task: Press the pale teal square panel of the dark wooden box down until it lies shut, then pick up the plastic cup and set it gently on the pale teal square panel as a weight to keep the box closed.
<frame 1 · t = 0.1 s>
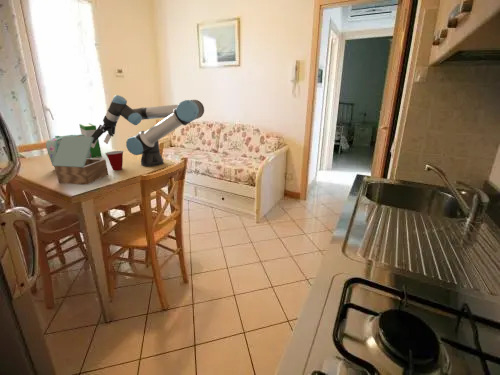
hand: (98, 144, 172), 15 cm above the table, tool tilted 35°, fingers open, 13 cm apart
wooden box: (84, 178, 154), on the table
pale teal square panel: (73, 151, 144), point 17 cm above the table, hinge at 50.0°
hardback book: (93, 155, 208), on the table
lunch box: (73, 165, 181), on the table
plastic cup: (117, 169, 172), on the table
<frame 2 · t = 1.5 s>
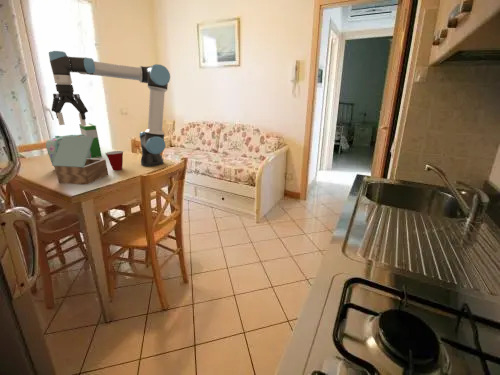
hand: (72, 125, 143), 31 cm above the table, tool pointing down, fingers open, 13 cm apart
nothing on the table moved.
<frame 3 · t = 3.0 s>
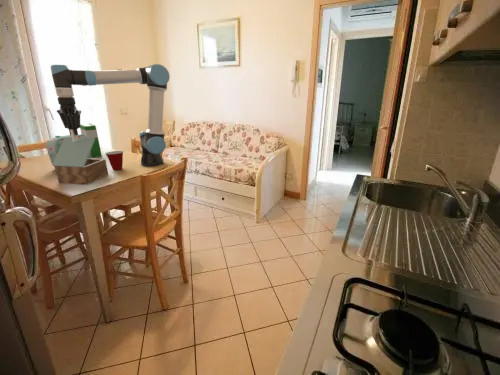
hand: (75, 141, 145), 23 cm above the table, tool pointing down, fingers closed
pale teal square panel: (74, 151, 145), point 17 cm above the table, hinge at 46.0°, touching gripper
everything else where it was.
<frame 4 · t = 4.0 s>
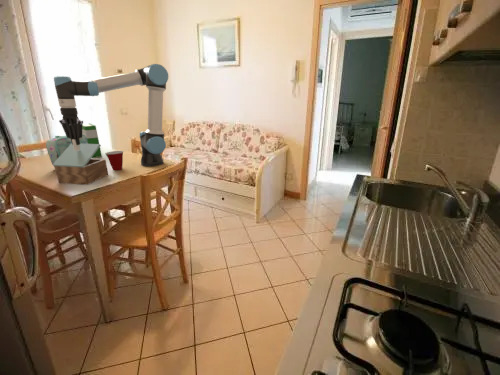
hand: (77, 150, 147), 17 cm above the table, tool pointing down, fingers closed
pale teal square panel: (77, 154, 147), point 15 cm above the table, hinge at 28.5°, touching gripper
everything else where it was.
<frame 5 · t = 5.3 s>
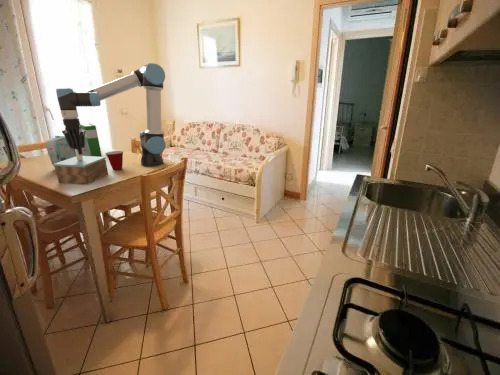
hand: (80, 159, 150), 11 cm above the table, tool pointing down, fingers closed
pale teal square panel: (80, 161, 150), point 11 cm above the table, hinge at 0.9°, touching gripper
everything else where it was.
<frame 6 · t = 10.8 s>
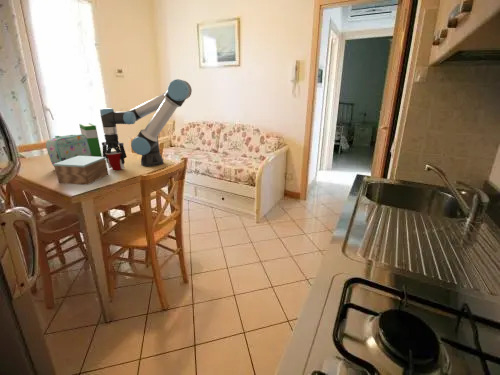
hand: (116, 167, 172), 1 cm above the table, tool pointing down, fingers closed on plastic cup, 8 cm apart
pale teal square panel: (80, 161, 150), point 11 cm above the table, hinge at 0.9°
plastic cup: (117, 169, 172), on the table, touching gripper
everything else where it was.
when the fingers open (12 cm above the table, at t = 19.1 s): plastic cup stays where it is, resting on pale teal square panel.
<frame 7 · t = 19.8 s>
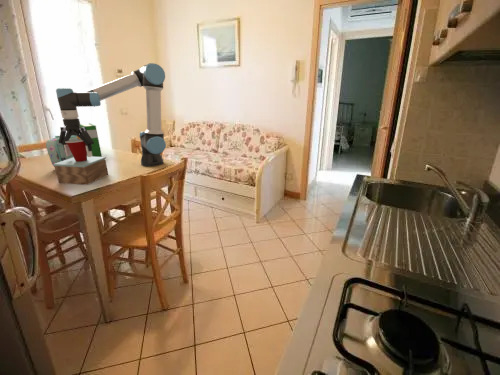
hand: (79, 156, 149), 14 cm above the table, tool pointing down, fingers open, 13 cm apart
pale teal square panel: (80, 161, 150), point 11 cm above the table, hinge at 0.8°, touching plastic cup
plastic cup: (81, 160, 150), point 11 cm above the table, touching pale teal square panel
everything else where it was.
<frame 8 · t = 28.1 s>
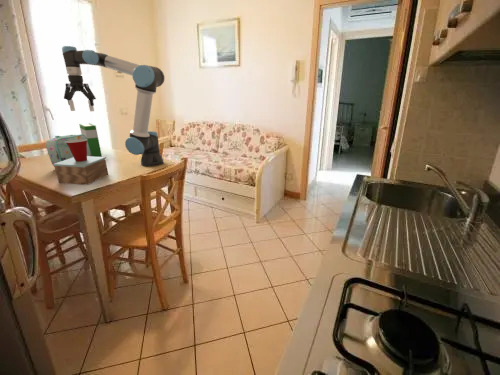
hand: (82, 111, 165), 37 cm above the table, tool pointing down, fingers open, 13 cm apart
nothing on the table moved.
at the end: pale teal square panel at +1° (first picture: +50°); plastic cup inside the target area on the wooden box (0.3 cm from its centre), point 11.0 cm above the wooden box's base; plastic cup tilted 1° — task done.
